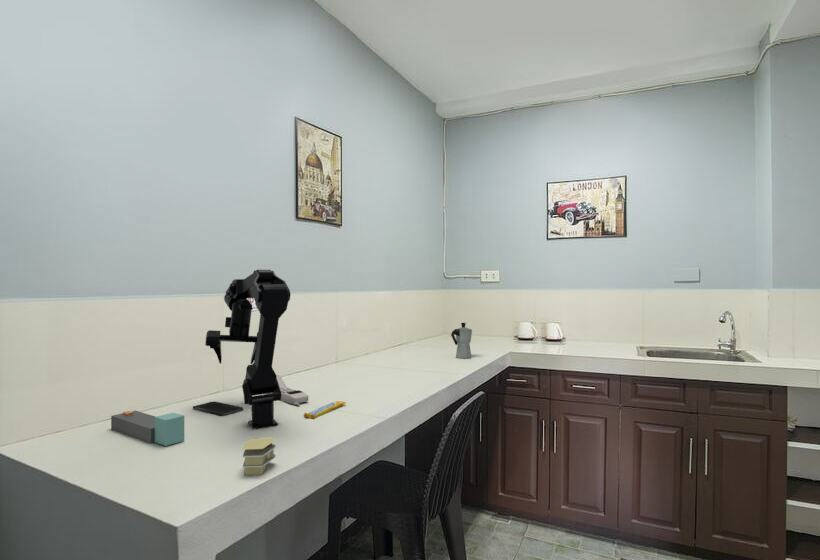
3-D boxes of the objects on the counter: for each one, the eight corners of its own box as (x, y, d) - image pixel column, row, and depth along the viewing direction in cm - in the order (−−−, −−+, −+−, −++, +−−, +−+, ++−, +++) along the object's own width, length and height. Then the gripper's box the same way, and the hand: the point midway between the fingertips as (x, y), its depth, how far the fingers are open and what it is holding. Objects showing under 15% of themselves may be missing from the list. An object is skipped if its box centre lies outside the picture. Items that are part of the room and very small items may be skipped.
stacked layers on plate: (275, 479, 89) (275, 451, 89) (228, 481, 89) (228, 452, 89) (285, 460, 99) (285, 434, 99) (243, 461, 99) (243, 435, 99)
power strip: (175, 436, 114) (175, 420, 114) (150, 443, 109) (150, 426, 109) (135, 423, 125) (135, 408, 125) (111, 429, 120) (111, 413, 120)
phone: (222, 414, 131) (191, 406, 139) (222, 418, 131) (191, 410, 139) (245, 407, 138) (214, 401, 146) (245, 411, 138) (214, 404, 146)
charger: (184, 440, 110) (184, 415, 110) (165, 446, 107) (165, 420, 107) (167, 434, 114) (167, 410, 115) (148, 440, 111) (149, 415, 111)
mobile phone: (279, 374, 164) (312, 385, 145) (279, 391, 164) (313, 404, 145) (262, 376, 160) (295, 388, 141) (263, 393, 160) (295, 407, 141)
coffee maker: (465, 355, 243) (465, 321, 243) (478, 357, 236) (478, 322, 237) (445, 358, 234) (445, 323, 234) (458, 360, 227) (457, 324, 227)
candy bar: (313, 421, 128) (313, 414, 128) (301, 419, 130) (301, 413, 130) (346, 406, 143) (346, 400, 143) (335, 405, 145) (335, 399, 145)
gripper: (270, 310, 152) (265, 352, 156) (209, 306, 145) (205, 350, 149) (272, 323, 142) (267, 368, 146) (207, 320, 135) (203, 367, 139)
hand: (236, 363), depth 145 cm, fingers open, 9 cm apart
